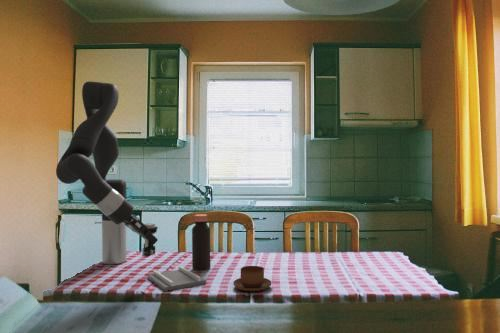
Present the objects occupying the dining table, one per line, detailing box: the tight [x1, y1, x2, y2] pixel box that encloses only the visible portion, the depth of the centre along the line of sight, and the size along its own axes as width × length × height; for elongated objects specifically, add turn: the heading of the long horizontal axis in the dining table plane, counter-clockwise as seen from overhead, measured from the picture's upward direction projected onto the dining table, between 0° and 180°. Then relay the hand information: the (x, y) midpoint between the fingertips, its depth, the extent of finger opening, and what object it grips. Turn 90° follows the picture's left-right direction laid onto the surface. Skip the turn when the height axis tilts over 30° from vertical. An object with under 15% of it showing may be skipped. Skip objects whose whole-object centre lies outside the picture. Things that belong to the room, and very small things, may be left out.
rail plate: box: [147, 265, 207, 292], centre depth 132 cm, size 17×14×2 cm
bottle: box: [191, 213, 211, 271], centre depth 148 cm, size 7×7×20 cm
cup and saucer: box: [232, 265, 272, 292], centre depth 124 cm, size 12×12×6 cm
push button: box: [141, 223, 159, 258], centre depth 126 cm, size 7×5×10 cm
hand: (152, 240), depth 128 cm, fingers closed on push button, 4 cm apart
